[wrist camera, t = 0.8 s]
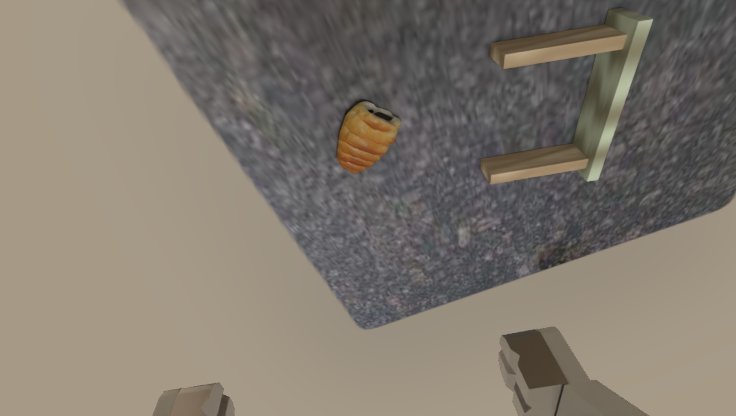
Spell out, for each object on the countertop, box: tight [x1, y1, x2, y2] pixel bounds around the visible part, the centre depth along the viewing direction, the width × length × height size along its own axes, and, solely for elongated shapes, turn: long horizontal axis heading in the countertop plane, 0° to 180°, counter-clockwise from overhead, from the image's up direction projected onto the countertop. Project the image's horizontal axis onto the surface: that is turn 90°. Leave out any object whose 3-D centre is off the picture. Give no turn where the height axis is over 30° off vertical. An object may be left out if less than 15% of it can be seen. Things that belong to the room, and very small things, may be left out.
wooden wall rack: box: [480, 8, 653, 184], centre depth 46 cm, size 20×14×5 cm
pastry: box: [337, 101, 401, 174], centre depth 46 cm, size 9×7×4 cm
